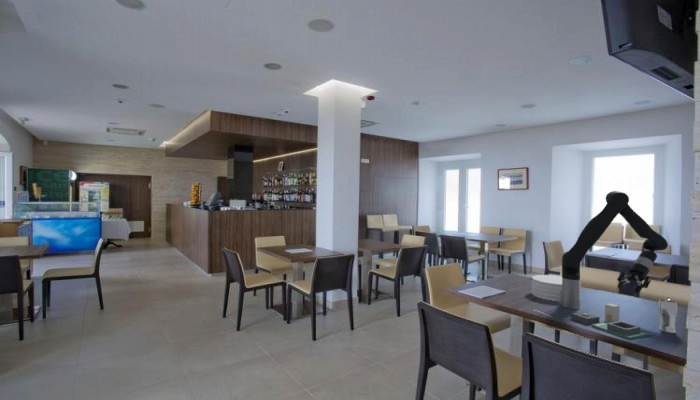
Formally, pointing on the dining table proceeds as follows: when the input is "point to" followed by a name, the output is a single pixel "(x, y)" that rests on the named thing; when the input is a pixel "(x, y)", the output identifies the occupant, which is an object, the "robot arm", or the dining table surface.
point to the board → (621, 329)
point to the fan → (585, 318)
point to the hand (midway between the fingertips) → (627, 290)
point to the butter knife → (542, 313)
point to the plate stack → (547, 287)
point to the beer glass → (667, 315)
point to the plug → (612, 312)
